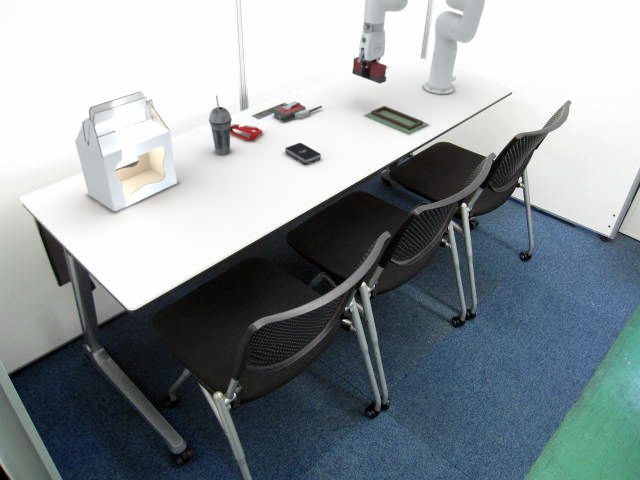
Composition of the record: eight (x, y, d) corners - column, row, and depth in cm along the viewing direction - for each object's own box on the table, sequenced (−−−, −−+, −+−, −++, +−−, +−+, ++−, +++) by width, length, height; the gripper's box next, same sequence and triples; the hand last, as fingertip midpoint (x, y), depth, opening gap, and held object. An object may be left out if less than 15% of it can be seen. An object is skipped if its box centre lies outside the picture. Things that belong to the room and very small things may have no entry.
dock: (385, 107, 217) (385, 103, 216) (427, 125, 205) (428, 120, 204) (365, 116, 210) (365, 111, 209) (408, 134, 198) (409, 129, 197)
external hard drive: (305, 166, 177) (305, 160, 175) (284, 153, 183) (284, 147, 182) (321, 159, 180) (321, 154, 179) (300, 147, 187) (300, 142, 186)
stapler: (385, 81, 206) (387, 65, 202) (379, 83, 204) (381, 68, 200) (358, 71, 214) (359, 56, 210) (352, 73, 212) (353, 58, 208)
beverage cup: (237, 149, 184) (234, 92, 172) (227, 158, 179) (223, 100, 167) (218, 145, 186) (213, 88, 174) (207, 154, 180) (202, 96, 168)
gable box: (114, 213, 151) (92, 119, 134) (87, 195, 158) (64, 103, 141) (178, 183, 165) (166, 94, 148) (151, 168, 172) (137, 82, 155)
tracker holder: (259, 125, 197) (266, 130, 188) (257, 137, 199) (264, 142, 190) (226, 120, 192) (232, 126, 184) (225, 133, 194) (230, 139, 185)
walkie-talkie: (286, 125, 201) (323, 110, 212) (286, 114, 198) (324, 100, 210) (270, 117, 205) (308, 104, 217) (270, 106, 203) (308, 93, 214)
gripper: (366, 33, 191) (362, 84, 202) (395, 24, 200) (390, 73, 211) (350, 28, 195) (347, 78, 206) (380, 20, 204) (375, 68, 215)
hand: (369, 75), depth 208 cm, fingers closed on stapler, 3 cm apart
